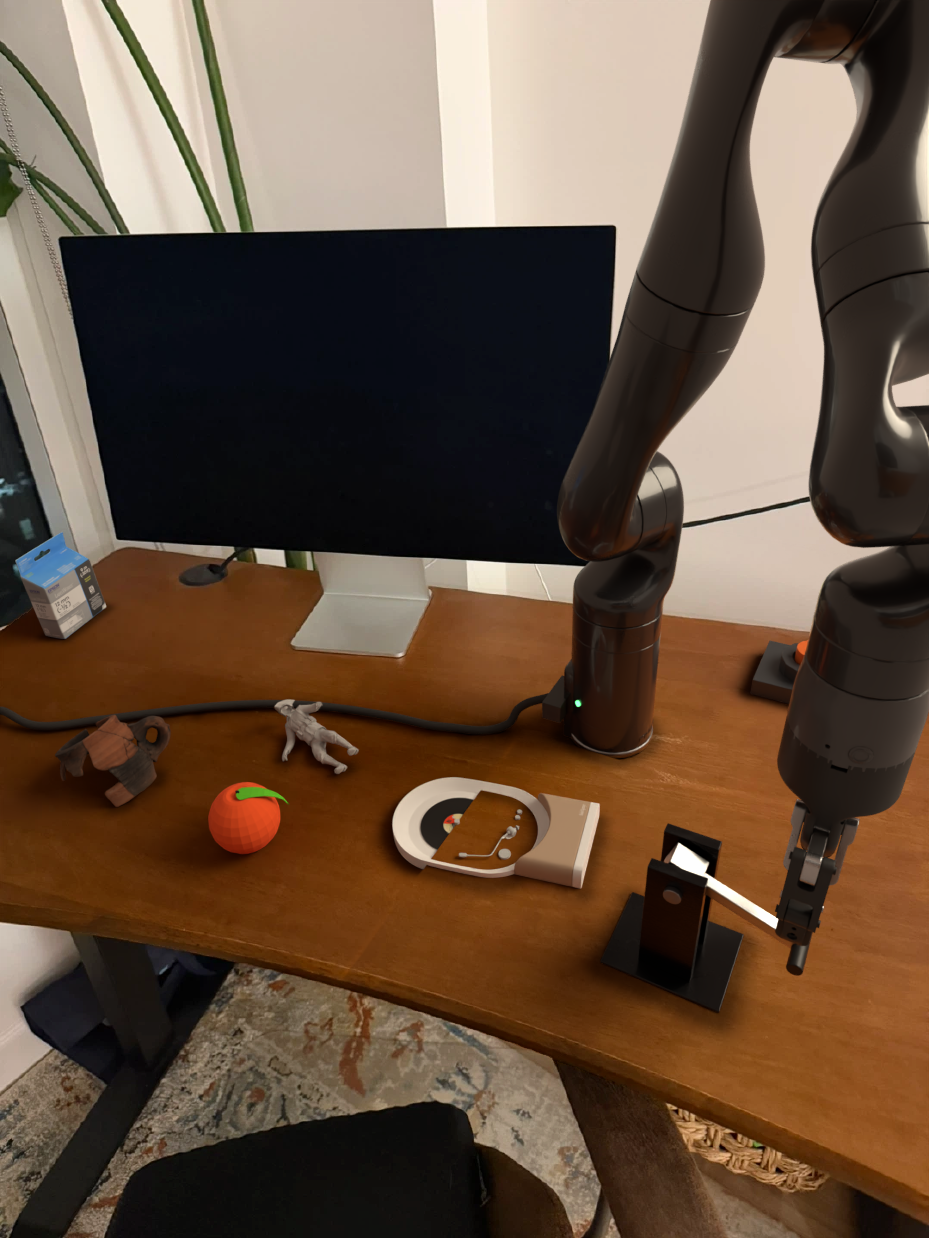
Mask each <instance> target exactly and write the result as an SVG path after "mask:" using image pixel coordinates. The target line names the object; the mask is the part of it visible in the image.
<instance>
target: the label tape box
mask: <svg viewBox="0 0 929 1238" xmlns="http://www.w3.org/2000/svg"><path fill="white" fill-rule="evenodd" d="M47 550H49V552H48V553H46V554H45V555H43V556H42V557H39V558H38V559H36V560H35V558H36V557H38V556H39V555H40V553H41V552H46V551H47ZM15 565H16V568H17V570H18V573H19V576H20V580H21V582H22V584H23V586H24V589H25V592H26V594H27V596H28V599H29V600H30V603H31V605H32V608H33V610H34V612H35V615H36V617H37V620H38V622H39V625H40V626H41V628H42V631H43V634H44V636H45V637H51V638H55V639H61V640H63V639H64V640H66V639H67V638H69V637H71V635H72V634H74V633H75V632H76V631H78V630H79V629H80V628H81V627H83V626H85V624H86V623H88V622H89V621H90V620H92V619H93V618H94V617H95V616H97V615H98V614H100V613H101V612H102V611H103V610H105V609H106V608H107V605H106V602H105V599H104V595H103V594H102V590H101V587H100V585H99V582H98V580H97V576H96V573H95V571H94V567H93V565H92V562H91V560H90V559H89V558H88V557H86V556H85V555H82V554H81V553H80V552H78V551H76V550H73V549H72V548H70V547H69V546H67V544H66V540H65V537H64V531H60V532H59V533H57V534H55V535H54V536H53V537H50V538H49V539H48V540H46V541H43V543H41V544H39V545H37V546H36V547H34V548H33V549H31V550H30V551H27V553H25V554H23V555H22V556H20V557H17V559H15Z"/></svg>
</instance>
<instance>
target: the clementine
mask: <svg viewBox="0 0 929 1238" xmlns="http://www.w3.org/2000/svg"><path fill="white" fill-rule="evenodd" d="M277 799H280V800H282V801H283V802H285V803H286V804H287V805H289V802H288V801H287V800H286V799H285V797H284V796H282V795H280V794H279V793H278V792H276V791H274V790H271V789H268V788H267V787H265V786H263V785H261V784H259V783H256V782H252V781H251V782H250V781H242V782H236V783H233V784H231V785H228V786H227V787H226V788H224V789H223V790H222V791H221V792H219V793H218V794H217V796H216V797H215V799H214V800H213V801H212V802H211V806H210V808H209V812H208V816H207V817H208V818H207V819H208V830H209V832H210V834H211V836H212V838H213V840H214V842H215V843H216V844H218V845H219V846H220V847H221V848H222V849H223V850H225V851H227V852H230V853H233V854H239V855H248V854H252V853H257V851H260V850H262V849H263V848H265V847H266V846H267V845H268V844H269V843H270V842H271V841H272V840H273V839H274V838H275V836H276V834H277V833H278V831H279V827H280V823H281V809H280V805H279V802H278V800H277Z"/></svg>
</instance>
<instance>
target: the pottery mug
mask: <svg viewBox="0 0 929 1238" xmlns="http://www.w3.org/2000/svg"><path fill="white" fill-rule="evenodd" d="M95 726H96V727H97V729H96V730H94V731H93V732H92V733H89V731H88V729H86V728H85V729H83V730H82V731H80V732H79V733H78V734H76V735H75V736H73V737H72V738H70V739H69V740H68V741H67V742H65V743H64V744H63V745H62V746H61V747H60V748H59V749H58V750H57V751H56V753H55V754H54V757H56V758H57V759H58V760H59V764H60V765H59V766H60V767H59V774H60V779H61V781H62V782H64V781H66V780H67V775H66V773H67V772H69V773H70V774H71V775H72V777H75V778H79V777H83V776H84V773H85V772H84V768H83V766H84V764H85V760H86V758H87V756H88V755H89V758H90V760H91V763H92V766H93V768H94V769H96V770H98V771H108V772H109V773H110V774H112V775H113V777H115V778H116V779H117V780H118V782H116V783H115V785H113V786H112V787H110V788H108V789H107V790H105V791H104V796H105V797H106V799H108V800H109V801H110V802H111V804H113V806H114V807H115V808H118V807H121V806H122V805H124V804H126V803H127V802H129V801H130V800H132V799H134V798H135V797H136V796H137V795H139V794H140V793H141V792H144V791H145V790H146V789H147V788H148V787H150V786H151V785H152V784H153V782H154V781H155V780H156V779H157V772H156V770H155V764H154V763H157V762H158V760H159V759H158V758H159V757H160V754H161V753H162V752H164V750H165V749H166V748H167V746H168V745H169V743H170V739H171V735H172V734H171V732H172V730H171V728H170V727H171V726H170V724H169V723H167V722H166V721H165V719H164V718H163V717H162V716H148V717H145V718H142V719H139V720H138V721H136V722H131V723H129V724H128V723H126V722H123V721H119V720H118V718H117V716H116V715H111V716H109V717H106V718H104V719H102V720H101V721H98V722H97V723H96V724H95ZM149 729H155V730H156V732H157V733H156V738H155V740H154V741H153V742H151V741H149V740H148V739H147V735H148V731H149ZM134 740H135V741H136V744H135V743H134V742H133V741H134Z"/></svg>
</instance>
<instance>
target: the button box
mask: <svg viewBox="0 0 929 1238" xmlns="http://www.w3.org/2000/svg"><path fill="white" fill-rule="evenodd" d="M799 643H800V642H795V643H792V644H788V643H783V642H779V641H774V640H769V641H768V642H767V646H766V647H765V650H764V653H763V654H762V657H761V660H760V661H759V664H758V666H757V669H756V671H755V672H754V675H753V677H752V681H751V687H750V695H754V696H756V697H760V698H764V699H768V700H771V701H776V702H779V703H783V704H786V705H787V704H788V705H789V703H790V699H791V694H792V690H793V685H794V681H795V678H796V675H797V672H798V669H799V667H800V665H799V664H797V663H796V662H795V654H796V649H797V645H798V644H799Z"/></svg>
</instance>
